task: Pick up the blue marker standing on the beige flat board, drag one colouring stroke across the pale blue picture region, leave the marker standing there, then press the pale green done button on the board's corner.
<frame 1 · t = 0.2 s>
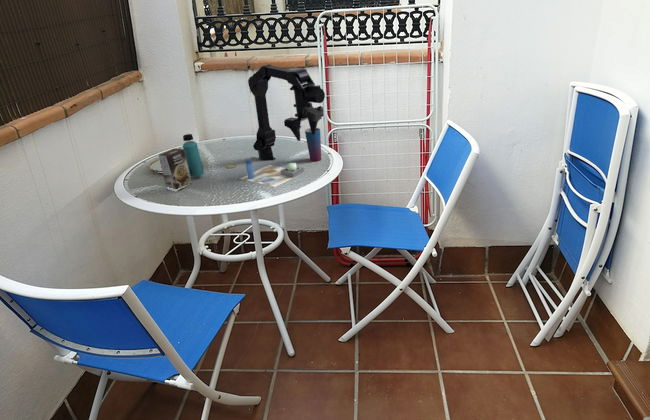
hand: (306, 137, 206), 14 cm above the table, tool pointing down, fingers open, 9 cm apart
button housing: (292, 173, 207), resting on beige flat board
done button: (291, 167, 206), point 4 cm above the table, slide at 0.0 cm
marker: (251, 177, 207), point 1 cm above the table, touching beige flat board
cup: (316, 162, 220), on the table
beverage bottle: (197, 178, 217), on the table
beige flat board: (272, 177, 208), on the table
coffee box: (180, 187, 209), on the table
plant saucer: (176, 167, 235), on the table
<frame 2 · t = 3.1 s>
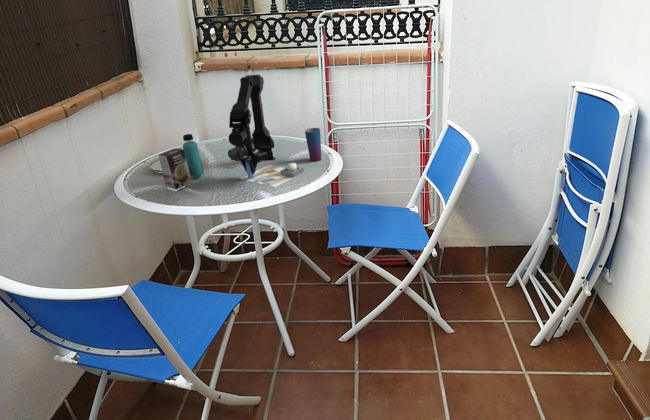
hand: (250, 173, 207), 3 cm above the table, tool pointing down, fingers closed on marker, 3 cm apart
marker: (251, 177, 207), point 1 cm above the table, touching beige flat board, gripper
everything else where it was.
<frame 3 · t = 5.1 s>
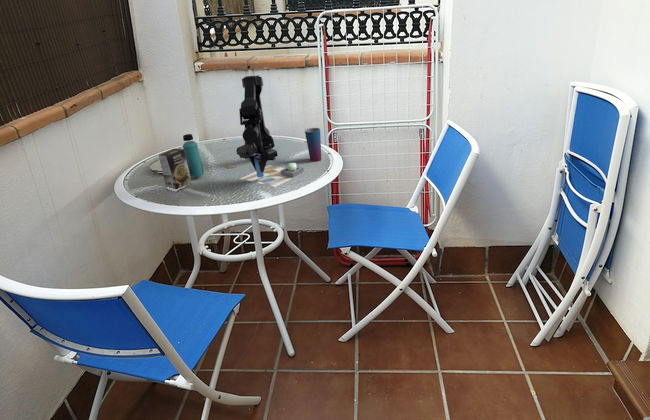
hand: (259, 171, 202), 5 cm above the table, tool pointing down, fingers closed on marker, 3 cm apart
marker: (260, 176, 203), point 3 cm above the table, touching gripper
everything else where it was.
when the fingers open (3 cm above the table, at t = 7.0 s): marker stays where it is, resting on beige flat board.
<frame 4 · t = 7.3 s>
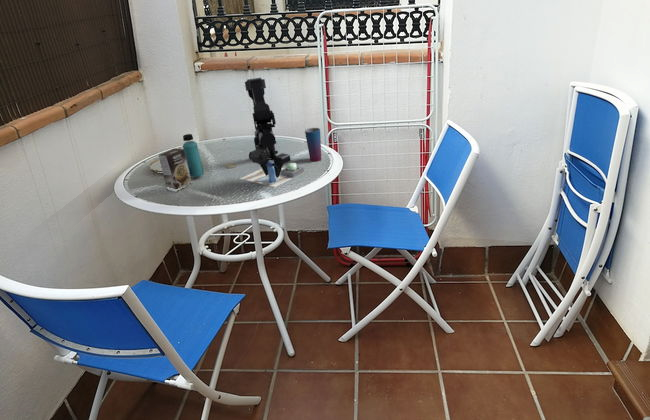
hand: (272, 176, 200), 3 cm above the table, tool pointing down, fingers open, 6 cm apart
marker: (272, 181, 201), point 1 cm above the table, touching beige flat board
everything else where it was.
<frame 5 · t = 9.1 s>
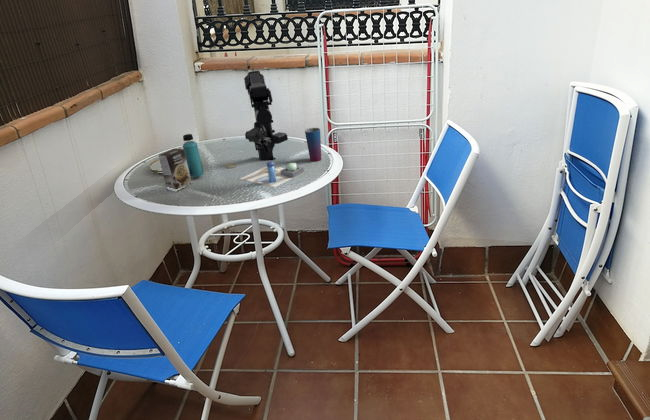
hand: (269, 156, 196), 12 cm above the table, tool pointing down, fingers closed
nothing on the table moved.
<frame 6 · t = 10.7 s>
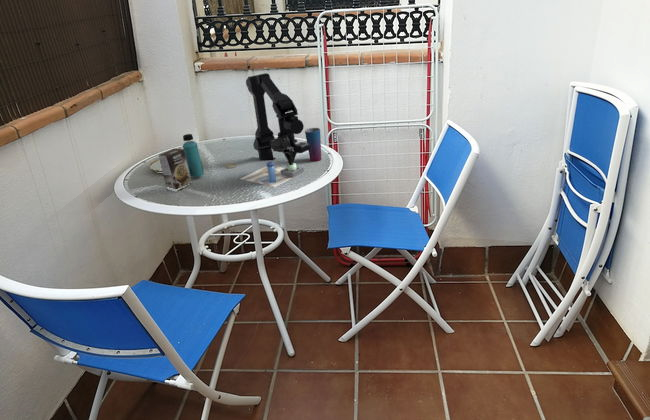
hand: (291, 164, 206), 5 cm above the table, tool pointing down, fingers closed, pressing on done button
done button: (291, 168, 206), point 3 cm above the table, slide at 0.2 cm, touching gripper
everything else where it was.
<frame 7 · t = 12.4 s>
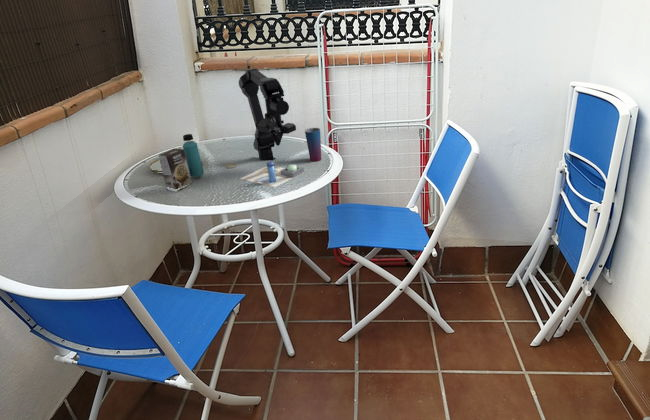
hand: (278, 145, 210), 12 cm above the table, tool pointing down, fingers closed
done button: (292, 169, 206), point 3 cm above the table, slide at 0.8 cm
everything else where it was.
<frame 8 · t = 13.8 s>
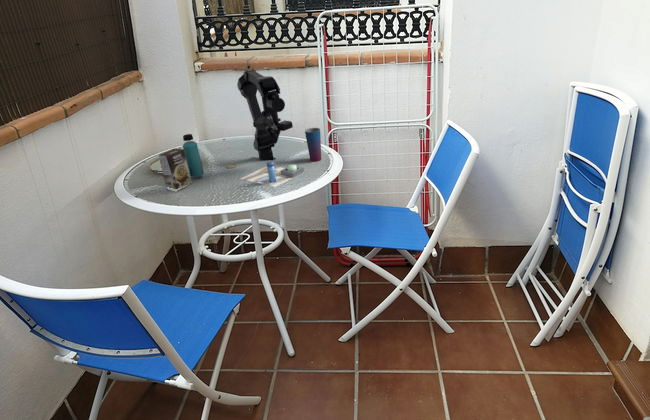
hand: (275, 143, 212), 12 cm above the table, tool pointing down, fingers closed
nothing on the table moved.
at the end: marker inside the target area (2.5 cm from its centre), point 1.1 cm above the table; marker tilted 0°; done button slide at 0.8 cm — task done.
